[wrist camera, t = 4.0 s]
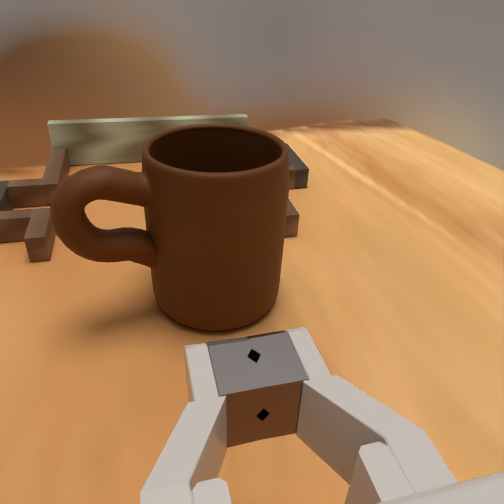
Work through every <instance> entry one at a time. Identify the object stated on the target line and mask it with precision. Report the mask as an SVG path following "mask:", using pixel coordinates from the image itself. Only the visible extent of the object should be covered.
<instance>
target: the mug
mask: <svg viewBox="0 0 504 504" xmlns="http://www.w3.org/2000/svg"><path fill="white" fill-rule="evenodd" d="M288 193H289V150H288V147H287V145H286V144H285V143H284V142H283V141H282V140H281V139H280V138H278V137H277V136H275V135H273V134H271V133H268V132H266V131H263V130H259V129H256V128H251V127H247V126H241V125H233V124H216V123H208V124H192V125H184V126H179V127H174V128H170V129H167V130H164V131H161V132H159V133H156V134H154V135H153V136H151V137H150V138H148V139H147V140H146V141H145V143H144V145H143V147H142V172H134V171H130V170H125V169H121V168H116V167H111V166H107V165H98V166H93V167H90V168H86V169H82V170H80V171H78V172H76V173H74V174H72V175H71V176H69V177H67V178H65V179H64V180H63V182H62V183H61V184H60V185H59V187H58V188H57V189H56V191H55V193H54V196H53V200H52V203H51V207H50V213H51V223H52V225H53V227H54V230H55V232H56V234H57V236H58V237H59V238H60V239H61V241H62V242H63V243H64V244H65V246H66V247H67V248H69V249H70V250H71V251H73V252H74V253H75V254H77V255H79V256H81V257H83V258H85V259H88V260H92V261H96V262H119V261H133V262H135V263H139V264H142V265H145V266H148V267H150V268H151V275H152V284H153V289H154V294H155V297H156V300H157V302H158V304H159V306H160V307H161V309H162V310H163V311H164V312H165V313H166V314H167V315H168V316H169V317H171V318H172V319H173V320H175V321H177V322H178V323H180V324H183V325H185V326H188V327H191V328H195V329H200V330H207V331H223V330H231V329H236V328H240V327H243V326H246V325H248V324H251V323H252V322H254V321H256V320H258V319H259V318H261V317H262V316H263V315H264V314H265V313H266V312H267V311H268V310H269V309H270V308H271V307H272V305H273V303H274V301H275V299H276V296H277V293H278V289H279V282H280V272H281V262H282V254H283V245H284V235H285V224H286V214H287V203H288ZM94 200H109V201H115V202H121V203H127V204H133V205H138V206H142V207H144V211H145V220H146V230H147V231H145V230H142V229H137V228H125V227H124V228H117V229H111V230H104V229H100V228H97V227H95V226H94V225H93V224H92V223H91V222H90V221H89V219H88V218H87V216H86V214H85V211H84V208H85V206H86V205H87V204H88V203H90V202H92V201H94Z"/></svg>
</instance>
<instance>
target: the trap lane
mask: <svg viewBox="0 0 504 504" xmlns="http://www.w3.org/2000/svg"><path fill="white" fill-rule="evenodd" d="M208 123H216V124H233V125H241V126H247V127H248V117H247V115H246V114H233V115H206V116H205V115H204V116H174V117H143V118H113V119H83V120H52V121H48V124H47V125H48V130H49V135H50V139H51V144H52V151H51V154H50V157H49V160H48V163H47V166H46V170H45V173H44V176H43V179H26V180H9V181H0V243H5V242H16V241H25V244H26V248H27V251H28V255H29V259H30V262H36V261H46V260H50V258H51V253H52V249H53V244H54V239H55V234H56V232H55V230H54V227H53V225H52V223H51V213H50V208H41V209H27V210H14V211H12V209H13V208H19V207H33V206H47V205H51V203H52V200H53V196H54V193H55V191H56V189H57V188H58V187H59V185H60V184H61V183H62V182H63V180H64V179H65V178H67V176H68V172H69V167H70V165H88V164H107V163H125V162H142V147H143V145H144V143H145V141H146V140H147V139H148V138H150V137H151V136H153V135H154V134H156V133H159V132H161V131H164V130H167V129H170V128H174V127H179V126H184V125H192V124H208ZM286 145H287V147H288V150H289V189H295V188H307V181H308V172H309V169H308V167H307V166H306V165H305V164H304V163H303V162H302V160H301V159H300V158H299V157H298V156H297V155H296V154H295V152H294V151H293V150H292V149H291V148H290V147H289V146H288V144H286ZM298 222H299V214H298V212H297V211H296V209H295V208H294V206H293V205H292V203H291V202H290V200H289V199H288V203H287V214H286V224H285V235H284V237H291V236H297V230H298Z"/></svg>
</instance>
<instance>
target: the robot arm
mask: <svg viewBox="0 0 504 504" xmlns="http://www.w3.org/2000/svg"><path fill="white" fill-rule="evenodd" d="M184 353H185V366H186V380H187V389H188V399H189V402H188V403H187V405H186V407H185V408H184V410H183V412H182V414H181V416H180V418H179V420H178V422H177V424H176V426H175V427H174V429H173V431H172V433H171V435H170V437H169V439H168V441H167V443H166V445H165V446H164V448H163V450H162V452H161V454H160V456H159V458H158V460H157V462H156V464H155V465H154V467H153V469H152V471H151V473H150V475H149V477H148V479H147V481H146V483H145V484H144V486H143V488H142V490H141V492H140V504H231V499H230V495H229V490H228V485H227V482H225V481H224V480H222V479H220V478H217V477H218V474H219V472H220V469H221V466H222V463H223V460H224V457H225V454H226V451H227V448H228V447H233V446H237V445H241V444H245V443H249V442H253V441H258V440H261V439H267V438H273V437H279V436H284V435H290V434H295V433H296V435H297V436H298V437H299V438H300V439H301V440H302V441H303V442H304V443H305V444H306V445H307V446H308V447H310V448H311V449H312V450H313V451H314V452H315V453H316V454H317V455H318V456H319V457H320V458H321V459H322V460H323V461H325V462H326V463H327V464H328V465H329V466H330V467H331V468H332V469H333V470H334V471H335V472H336V473H337V474H339V475H340V476H341V477H342V478H343V479H344V480H345V481H346V482H347V483H348V484H349V485H350V486H349V490H348V493H347V497H346V501H345V504H504V471H500V472H496V473H492V474H488V475H485V476H481V477H477V478H473V479H469V480H465V481H461V482H457V480H456V479H455V477H454V476H453V474H452V472H451V471H450V469H449V468H448V466H447V465H446V463H445V462H444V460H443V458H442V457H441V455H440V454H439V452H438V451H437V449H436V448H435V446H434V445H433V443H432V441H431V440H430V438H429V437H428V435H427V434H426V432H425V431H424V430H423V429H422V428H420V427H418V426H417V425H415V424H414V423H412V422H411V421H409V420H407V419H406V418H404V417H403V416H401V415H400V414H398V413H396V412H395V411H393V410H392V409H390V408H389V407H387V406H385V405H384V404H382V403H381V402H379V401H378V400H376V399H374V398H373V397H371V396H370V395H368V394H367V393H365V392H363V391H362V390H360V389H359V388H357V387H356V386H354V385H352V384H351V383H349V382H348V381H346V380H345V379H343V378H341V377H340V376H338V375H334V376H331V374H330V372H329V370H328V368H327V366H326V364H325V362H324V360H323V358H322V356H321V354H320V352H319V351H318V349H317V347H316V345H315V343H314V341H313V339H312V337H311V335H310V333H309V331H308V329H306V328H305V327H301V328H295V329H289V330H285V331H277V332H272V333H266V334H260V335H254V336H248V337H243V338H235V339H228V340H220V341H213V342H206V343H201V344H193V345H186V346H185V347H184Z"/></svg>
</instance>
